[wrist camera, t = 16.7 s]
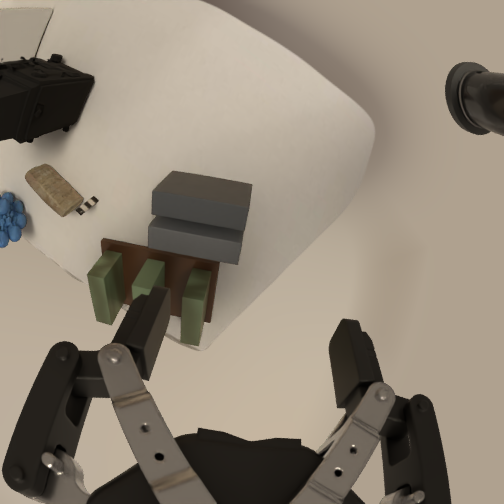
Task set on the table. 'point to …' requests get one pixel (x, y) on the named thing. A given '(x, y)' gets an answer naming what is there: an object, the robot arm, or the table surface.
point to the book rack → (176, 278)
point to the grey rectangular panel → (21, 32)
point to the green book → (149, 277)
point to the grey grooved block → (199, 216)
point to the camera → (39, 97)
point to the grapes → (10, 219)
